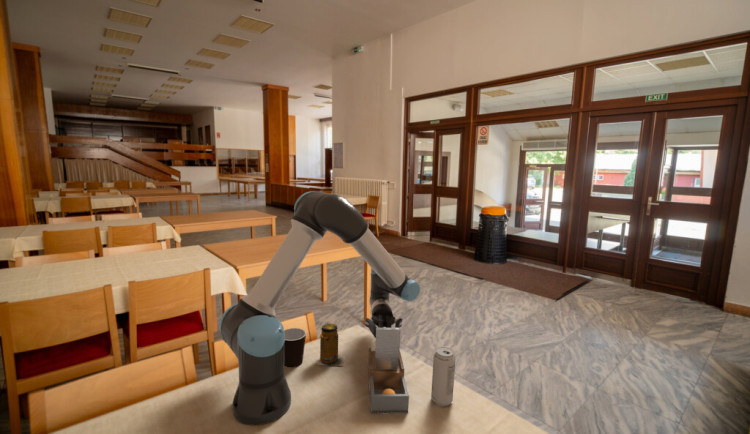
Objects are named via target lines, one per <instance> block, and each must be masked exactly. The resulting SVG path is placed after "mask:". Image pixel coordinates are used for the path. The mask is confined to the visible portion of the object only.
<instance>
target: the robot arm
mask: <svg viewBox="0 0 750 434" xmlns="http://www.w3.org/2000/svg"><path fill="white" fill-rule="evenodd" d="M293 210H294V214H293V216H292V218H291V219H290V223H291V228H290V230H288V233H287V234H286V236H285V238H284V239H283V241H282V243H281V244H280V245H279V247H278V248H277V250H276V252H275V253H274V255H273V256H272V257H271V259H270V261H269V262H268V263H267V266H266V267H265V269H264V270H263V272H262V274H261V275H260V277H259V278H258V279H257V282H256V283H255V285H254V286H253V288H252V289H251V290H250V292H249V293H248V294H246V295H243V296H241V297H240V299H239V300H238V302H237V303H235V304H234V305H231V306H229V307H228V308H226V310H225V311H224V312H223V314H222V315H221V318H220V320H219V328H218V329H219V332H220V335H221V338H222V340H223V342H224V343H225V344H226V345H227V346H228V348H229V349H230V350H231V351H232V353H233V354H234V356H235V357H236V358H237V361H238V362H237V363H238V384H237V387H236V390H235V393H234V397H233V400H232V403H231V404H232V414H233V417H234V419H235V420H237V422H239V423H242V424H243V425H250V426H258V425H264V424H268V423H271V422H274V421H276V420H278V419H279V418H282V416H283V415H284V414H286V413H287V411H288V410H289V408H290V406H291V403H292V393H291V390H290V387H289V384H288V381H287V379H286V377H285V376H286V375H285V366H284V342H285V334H284V330H285V328H284V325H283V323H282V322H281V320H280V319H278V318H276V310H275V307H276V306H277V304H278V302H279V301H280V299H281V298H282V297H283V294H284V293H285V291H286V289H287V288H288V286H289V284H290V283H291V282H292V280H293V278H294V277H295V275H296V273H297V271H298V270H299V268H300V266H301V265H302V263H303V262H304V260H305V258H306V257H307V255H308V254H309V251H310V250H311V249H312V247H313V245H314V244H315V242H316V241H318V240H322V239H323V238H324V236H325V234H327V232H330V233H331V234H334V236H335V235H336V236H337V237H338V238H340V240H341V241H342V242H343V243H345V244H346V245H351V247H352V248H353V249H354V251H356V252H357V253H358V255H360V257H361V258H362V259H363V260H364V261H365V262H366V263H367V265H368V266H369V267H370V268H371V273H370V295H369V305H370V311H371V318H368V317H366V318H365V322H364V323H365V327H366V328H368V329H369V331H370V332H371V334H372V335H373V337H374V338H375V339H376V328H393V327H392V326H393V325H395V326H394V328H400V329H401V327H402V326H403V318H402V317H401V318H400V317H399V318H398V319H396V317H395V316H394V314H393V309H392V307H391V303H390V298H391V297H390V296H391V295H393V296H395V297H397V298H399V299H402V300H403V301H407V302H410V303H411V302H414V301H415V300H416V299H417V298H418V296H419V295H420V292H421V287H420V284H419V282H417V281H416V280H414V279H411V278H409V276H408V275H407V274H406V273H405V272H404V270H403V269H402V268H401V267H400V266H399V264H398V263H397V262H396V260H395V259H394V258H393V257H392V256H391V254H390V253H389V252H388V251H387V249H386V248H385V247H384V245H383V244H382V243H381V242H380V240H379V239H378V238H377V237H376V236H375V235H374V233H373V232H372V231H371V230H370V229H369V226H370V225H369V222H368V221H367V219H366V218H365V217H364V216H363V214H362V213H361V212H360V211H359V210H358V209H357V208H356V207H355V205H354V204H353V203H352V202H350V201H349V200H348V199H347V198H345V197H344V196H342V195H341V194H337V193H329V192H324V191H319V190H311V191H307V192H304V193H303V194H301V195H300V196H299V197H297V199H296V201H295V203H294V207H293Z"/></svg>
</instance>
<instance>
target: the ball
mask: <svg viewBox="0 0 750 434" xmlns="http://www.w3.org/2000/svg"><path fill="white" fill-rule="evenodd" d="M382 394H395V392H394V391H393V390H392V389H386V390H384V391H383V393H382Z"/></svg>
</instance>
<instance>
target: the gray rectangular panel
mask: <svg viewBox="0 0 750 434" xmlns="http://www.w3.org/2000/svg"><path fill="white" fill-rule="evenodd" d="M400 346H401V327H400V328H395V327H392V328H386V327H384V328H378V327H377V328H376V338H375V350H374V351H375V359H376V370H398V358H399V352H400V353H401V350H400V349H401V347H400Z"/></svg>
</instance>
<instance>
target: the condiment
mask: <svg viewBox="0 0 750 434" xmlns="http://www.w3.org/2000/svg"><path fill="white" fill-rule="evenodd" d="M319 337H320V338H319V339H320V340H319V341H320V342H319V343H320V348H319V349H320V351H319V353H320V354H319V359H318V362H317V364H316V365H317V366H329V367H330V366H334V367H339V366H340V367H343V365H344V361H345V357H346V354H343V353H342V354H340V353H339V333H338V326H337V325H336V324H335V323H325V324H323V325H322V326H321V333H320V335H319Z"/></svg>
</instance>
